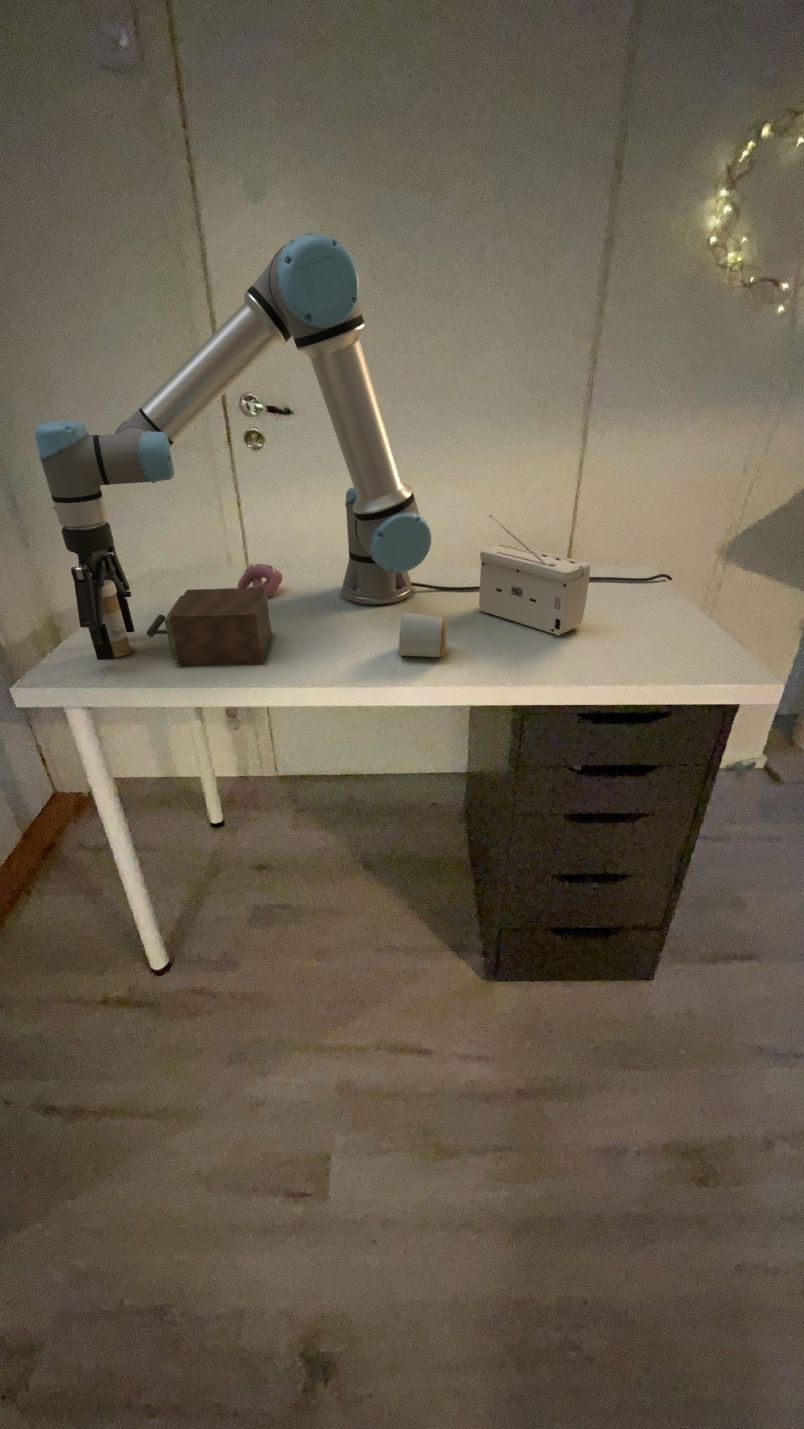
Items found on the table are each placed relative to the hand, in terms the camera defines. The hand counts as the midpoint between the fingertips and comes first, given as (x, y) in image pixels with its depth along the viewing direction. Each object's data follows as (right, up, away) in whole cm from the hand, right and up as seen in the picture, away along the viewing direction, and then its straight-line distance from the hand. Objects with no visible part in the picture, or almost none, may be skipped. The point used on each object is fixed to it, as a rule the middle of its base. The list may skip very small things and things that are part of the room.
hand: (116, 644), depth 120 cm
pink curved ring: (+21, +15, +27) cm, 37 cm away
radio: (+78, +6, +12) cm, 79 cm away
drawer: (+16, 0, +1) cm, 16 cm away
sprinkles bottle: (0, -2, +1) cm, 2 cm away
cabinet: (+20, -1, +1) cm, 20 cm away
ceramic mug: (+56, -1, 0) cm, 56 cm away
